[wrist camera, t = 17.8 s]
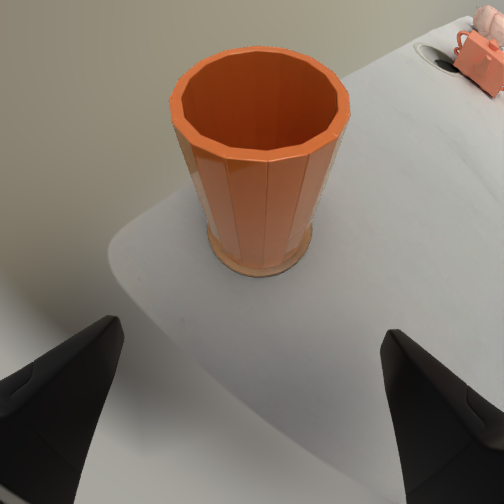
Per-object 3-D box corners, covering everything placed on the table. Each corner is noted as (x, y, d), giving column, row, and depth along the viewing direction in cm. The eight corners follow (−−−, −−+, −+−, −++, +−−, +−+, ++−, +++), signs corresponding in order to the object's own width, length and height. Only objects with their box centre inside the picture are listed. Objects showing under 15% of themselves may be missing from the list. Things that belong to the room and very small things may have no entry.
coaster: (263, 300, 21) (263, 298, 21) (187, 230, 23) (185, 227, 23) (331, 224, 23) (332, 221, 23) (256, 166, 25) (256, 162, 24)
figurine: (466, 31, 43) (464, 29, 34) (480, 0, 33) (481, -8, 25) (500, 56, 40) (507, 62, 32) (516, 27, 31) (526, 25, 22)
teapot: (504, 85, 32) (523, 57, 24) (498, 117, 28) (524, 82, 20) (454, 46, 34) (469, 15, 26) (436, 68, 31) (455, 28, 23)
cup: (317, 255, 22) (381, 143, 9) (224, 279, 21) (180, 182, 9) (289, 176, 24) (310, 40, 12) (205, 195, 23) (165, 63, 11)
